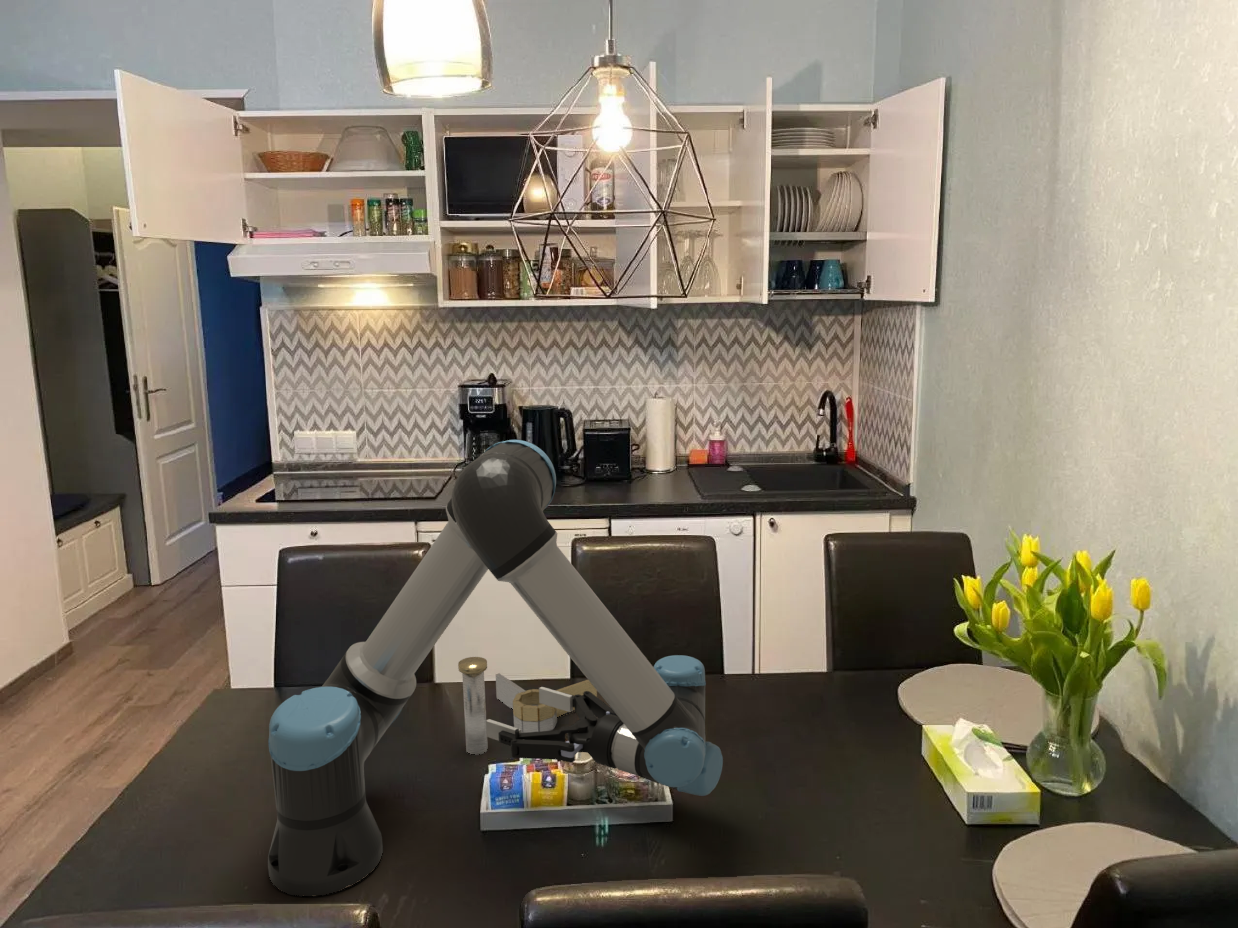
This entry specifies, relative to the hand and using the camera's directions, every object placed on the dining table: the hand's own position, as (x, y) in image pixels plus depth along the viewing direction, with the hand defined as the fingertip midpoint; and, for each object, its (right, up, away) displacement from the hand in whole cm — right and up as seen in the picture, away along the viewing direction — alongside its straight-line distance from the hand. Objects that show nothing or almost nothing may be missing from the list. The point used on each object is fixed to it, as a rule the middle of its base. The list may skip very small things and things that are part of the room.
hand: (514, 710), depth 148 cm
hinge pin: (-7, -9, +6) cm, 13 cm away
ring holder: (+2, -6, +18) cm, 19 cm away
